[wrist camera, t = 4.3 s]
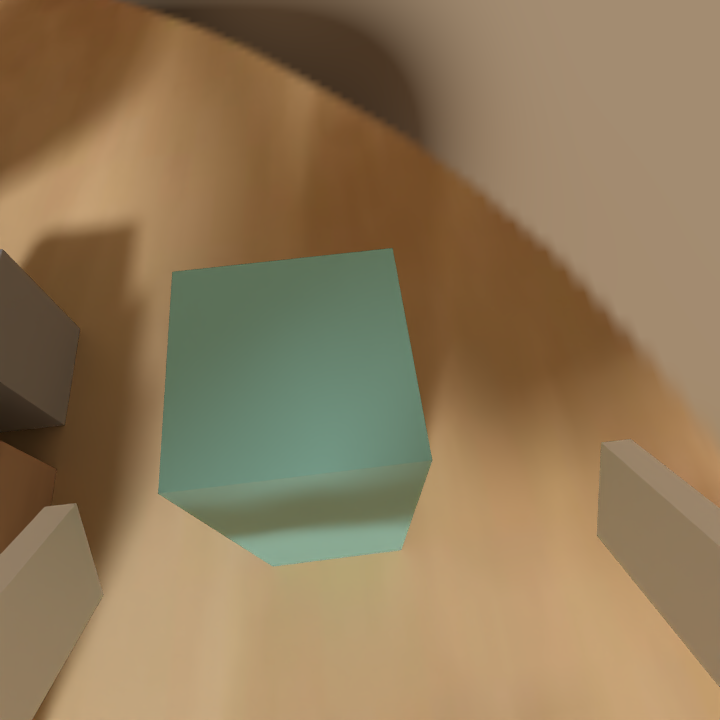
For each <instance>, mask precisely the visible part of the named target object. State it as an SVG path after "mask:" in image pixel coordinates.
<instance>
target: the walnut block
mask: <svg viewBox="0 0 720 720" xmlns="http://www.w3.org/2000/svg"><path fill="white" fill-rule="evenodd" d="M56 471H57V469H55V468H53V467H51V466H49V465H47V464H46V463H44V462H42V461H40V460H38V459H36V458H34V457H32V456H30V455H28V454H26V453H24V452H22V451H20V450H18V449H16V448H14V447H12V446H10V445H8V444H6V443H4V442H2V441H0V554H1V553H2V552H3V551H4V550H5V549H6V548H7V547H8V546H9V545H10V544H11V542H12V541H13V540H14V539H15V538H16V537H17V536H18V535H19V534H20V533H21V532H22V531H23V530H24V529H25V527H26V526H27V525H28V524H29V523H30V522H31V521H32V520H33V519H34V518H35V517H36V516H37V515H38V513H39V512H40V511H41V510H42V509H43V508H44V507H46V506H51V502H52V496H53V490H54V483H55V477H56Z"/></svg>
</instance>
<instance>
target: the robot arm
mask: <svg viewBox="0 0 720 720" xmlns="http://www.w3.org/2000/svg"><path fill="white" fill-rule="evenodd" d="M597 536H598V537H599V539H600V540H601V541H602V542H603V544H604V545H605V546H606V547H607V549H608V550H609V551H610V552H611V554H612V555H613V556H614V557H615V558H616V560H617V561H618V562H619V563H620V565H621V566H622V567H623V568H624V570H625V571H626V572H627V573H628V575H629V576H630V577H631V578H632V580H633V581H634V582H635V583H636V584H637V586H638V587H639V588H640V589H641V591H642V592H643V593H644V594H645V596H646V597H647V598H648V599H649V601H650V602H651V603H652V604H653V605H654V607H655V608H656V609H657V610H658V612H659V613H660V614H661V615H662V617H663V618H664V619H665V620H666V622H667V623H668V624H669V625H670V626H671V628H672V629H673V630H674V631H675V633H676V634H677V635H678V636H679V638H680V639H681V640H682V641H683V643H684V644H685V645H686V646H687V648H688V649H689V650H690V651H691V652H692V654H693V655H694V656H695V657H696V659H697V660H698V661H699V662H700V664H701V665H702V666H703V667H704V669H705V670H706V671H707V672H708V673H709V675H710V676H711V677H712V678H713V680H714V681H715V682H716V683H717V685H718V686H719V687H720V508H719V507H717V506H716V505H715V504H713V503H712V502H711V501H710V500H708V499H707V498H706V497H704V496H703V495H702V494H701V493H699V492H698V491H697V490H696V489H694V488H693V487H692V486H690V485H689V484H688V483H687V482H685V481H684V480H683V479H681V478H680V477H679V476H678V475H676V474H675V473H674V472H672V471H671V470H670V469H669V468H667V467H666V466H665V465H663V464H662V463H661V462H660V461H658V460H657V459H656V458H654V457H653V456H652V455H651V454H649V453H648V452H647V451H646V450H644V449H643V448H642V447H640V446H639V445H638V444H637V443H635V442H634V441H633V440H631V439H627V440H619V441H610V442H601V457H600V479H599V500H598V521H597ZM102 597H103V591H102V588H101V584H100V581H99V578H98V574H97V571H96V567H95V564H94V561H93V557H92V554H91V551H90V547H89V544H88V540H87V537H86V534H85V530H84V527H83V524H82V520H81V517H80V513H79V510H78V507H77V503H72V504H64V505H55V506H46V507H44V508H43V509H42V510H41V511H40V512H39V513H38V515H37V516H36V517H35V518H34V519H33V520H32V521H31V522H30V523H29V524H28V525H27V526H26V527H25V529H24V530H23V531H22V532H21V533H20V534H19V535H18V536H17V537H16V538H15V539H14V540H13V541H12V542H11V544H10V545H9V546H8V547H7V548H6V549H5V550H4V551H3V552H2V553H1V554H0V720H32V719H33V717H34V716H35V714H36V712H37V710H38V709H39V707H40V705H41V703H42V702H43V700H44V698H45V696H46V695H47V693H48V691H49V689H50V688H51V686H52V684H53V682H54V681H55V679H56V677H57V675H58V674H59V672H60V670H61V668H62V667H63V665H64V663H65V661H66V660H67V658H68V656H69V654H70V653H71V651H72V649H73V647H74V646H75V644H76V642H77V640H78V639H79V637H80V635H81V633H82V632H83V630H84V628H85V626H86V625H87V623H88V621H89V620H90V618H91V616H92V614H93V613H94V611H95V609H96V607H97V606H98V604H99V602H100V600H101V599H102Z"/></svg>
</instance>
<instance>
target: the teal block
mask: <svg viewBox="0 0 720 720" xmlns="http://www.w3.org/2000/svg"><path fill="white" fill-rule="evenodd" d="M431 462H432V456H431V451H430V446H429V440H428V435H427V430H426V424H425V419H424V414H423V408H422V403H421V398H420V392H419V387H418V382H417V376H416V371H415V366H414V360H413V355H412V350H411V344H410V339H409V334H408V328H407V323H406V318H405V312H404V307H403V302H402V296H401V291H400V286H399V280H398V275H397V270H396V264H395V259H394V254H393V248H389V249H379V250H370V251H361V252H352V253H342V254H333V255H324V256H314V257H305V258H296V259H287V260H277V261H268V262H259V263H250V264H240V265H231V266H222V267H212V268H203V269H194V270H185V271H175V272H172V285H171V301H170V316H169V332H168V348H167V363H166V379H165V395H164V410H163V426H162V442H161V457H160V473H159V489H158V494H159V495H161V496H163V497H164V498H166V499H167V500H169V501H171V502H172V503H174V504H175V505H177V506H178V507H180V508H182V509H183V510H185V511H186V512H188V513H189V514H191V515H193V516H194V517H196V518H197V519H199V520H200V521H202V522H204V523H205V524H207V525H208V526H210V527H211V528H213V529H215V530H216V531H218V532H219V533H221V534H223V535H224V536H226V537H227V538H229V539H230V540H232V541H234V542H235V543H237V544H238V545H240V546H241V547H243V548H245V549H246V550H248V551H249V552H251V553H252V554H254V555H256V556H257V557H259V558H260V559H262V560H264V561H265V562H267V563H268V564H270V565H271V566H280V565H288V564H296V563H303V562H311V561H319V560H327V559H335V558H343V557H350V556H358V555H366V554H374V553H382V552H389V551H397V550H401V549H402V546H403V543H404V540H405V537H406V534H407V532H408V529H409V526H410V523H411V520H412V517H413V514H414V511H415V508H416V506H417V503H418V500H419V497H420V494H421V491H422V488H423V485H424V482H425V480H426V477H427V474H428V471H429V468H430V465H431Z"/></svg>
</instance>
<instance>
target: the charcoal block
mask: <svg viewBox="0 0 720 720" xmlns="http://www.w3.org/2000/svg"><path fill="white" fill-rule="evenodd" d="M79 332H80V328H79V327H78V326H77V325H76V324H75V323H74V322H73V321H72V320H71V319H70V318H69V317H68V316H67V315H66V314H65V313H64V312H63V311H62V310H61V309H60V308H59V307H58V306H57V305H56V304H55V303H54V302H53V300H52V299H51V298H50V297H49V296H48V295H47V294H46V293H45V292H44V291H43V290H42V289H41V288H40V287H39V286H38V285H37V284H36V283H35V282H34V281H33V280H32V279H31V278H30V277H29V276H28V275H27V274H26V273H25V272H24V271H23V270H22V269H21V268H20V266H19V265H18V264H17V263H16V262H15V261H14V260H13V259H12V258H11V257H10V256H9V255H8V254H7V253H6V252H5V251H4V250H3V249H0V432H9V431H18V430H26V429H35V428H44V427H52V426H61V425H65V420H66V414H67V408H68V402H69V395H70V389H71V383H72V376H73V370H74V364H75V358H76V351H77V345H78V339H79Z"/></svg>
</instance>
